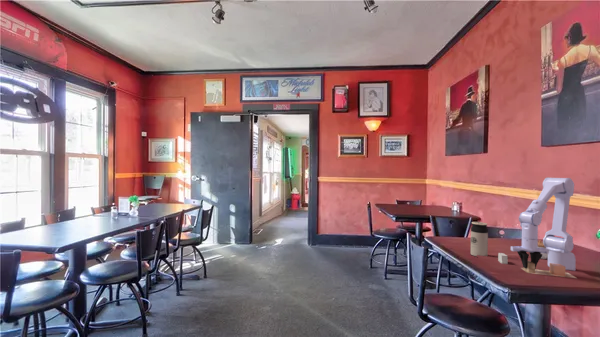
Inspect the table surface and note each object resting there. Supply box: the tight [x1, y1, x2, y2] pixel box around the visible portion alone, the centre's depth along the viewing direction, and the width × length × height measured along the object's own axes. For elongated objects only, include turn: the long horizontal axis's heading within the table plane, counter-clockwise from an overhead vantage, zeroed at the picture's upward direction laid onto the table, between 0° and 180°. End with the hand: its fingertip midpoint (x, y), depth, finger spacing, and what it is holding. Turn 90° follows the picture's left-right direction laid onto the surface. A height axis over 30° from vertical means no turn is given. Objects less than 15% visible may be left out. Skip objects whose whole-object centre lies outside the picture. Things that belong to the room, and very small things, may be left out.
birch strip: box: [520, 260, 577, 279], centre depth 128 cm, size 18×7×5 cm, turn 72°
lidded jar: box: [538, 239, 548, 260], centre depth 157 cm, size 11×11×9 cm
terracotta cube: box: [548, 263, 566, 277], centre depth 127 cm, size 4×4×4 cm
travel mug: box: [470, 221, 489, 258], centre depth 158 cm, size 8×8×18 cm
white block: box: [497, 252, 509, 265], centre depth 141 cm, size 18×7×5 cm, turn 72°
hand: (529, 267), depth 131 cm, fingers closed on birch strip, 3 cm apart
